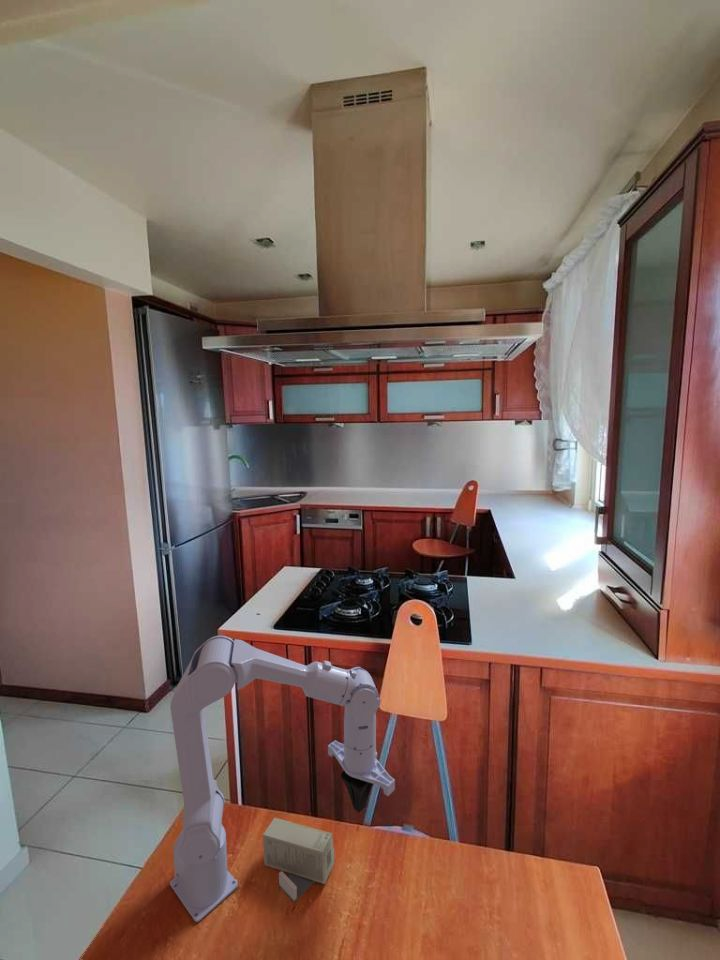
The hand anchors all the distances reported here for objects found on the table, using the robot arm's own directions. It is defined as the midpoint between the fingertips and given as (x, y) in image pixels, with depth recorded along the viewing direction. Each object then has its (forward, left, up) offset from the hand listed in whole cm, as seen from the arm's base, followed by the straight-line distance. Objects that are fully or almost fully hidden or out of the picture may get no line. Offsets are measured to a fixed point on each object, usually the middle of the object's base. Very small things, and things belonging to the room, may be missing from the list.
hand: (359, 807), depth 83 cm
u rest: (-5, -8, -10) cm, 14 cm away
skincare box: (-1, -6, -7) cm, 9 cm away
